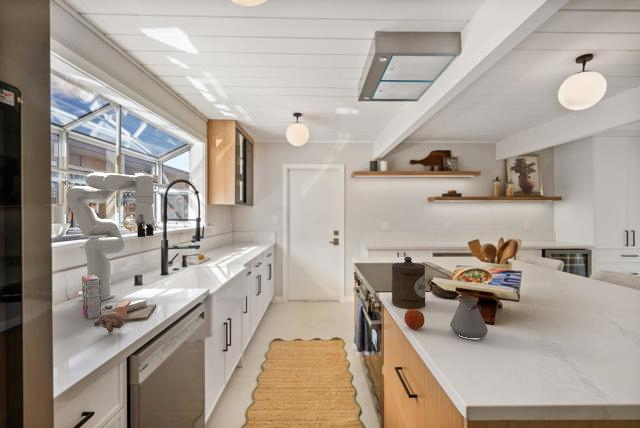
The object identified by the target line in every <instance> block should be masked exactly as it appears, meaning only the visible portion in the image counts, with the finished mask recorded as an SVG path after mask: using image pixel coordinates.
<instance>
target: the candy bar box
mask: <svg viewBox="0 0 640 428" xmlns="http://www.w3.org/2000/svg"><path fill="white" fill-rule="evenodd" d="M81 292H82V296H81V298H82V314H83V316H84V317H85V318H86V319H87V320H92V319H96V318H99V317H100V316H101V309H102V304H101V303H102V302H101V294H100V278H98V277H97V276H96V275H90V276H87V275H84V276H82V277H81Z"/></svg>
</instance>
